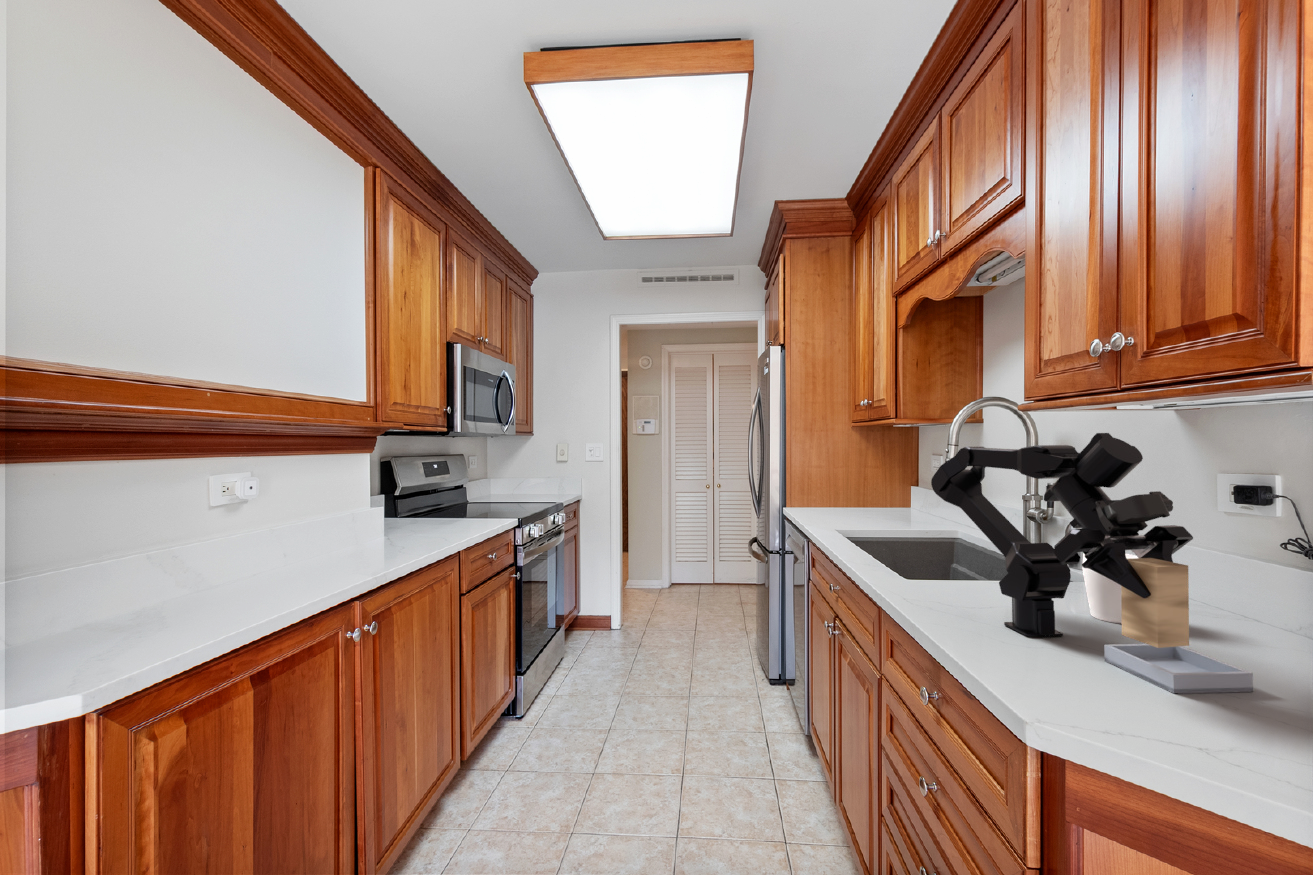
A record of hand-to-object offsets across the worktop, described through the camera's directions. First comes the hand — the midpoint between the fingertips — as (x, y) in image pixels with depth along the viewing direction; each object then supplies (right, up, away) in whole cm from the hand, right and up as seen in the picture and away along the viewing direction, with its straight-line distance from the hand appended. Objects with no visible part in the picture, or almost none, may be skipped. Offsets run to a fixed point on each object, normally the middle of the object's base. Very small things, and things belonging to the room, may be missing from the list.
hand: (1164, 595), depth 76 cm
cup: (+17, -13, +29) cm, 35 cm away
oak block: (0, -7, +1) cm, 7 cm away
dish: (+4, -12, +3) cm, 14 cm away
